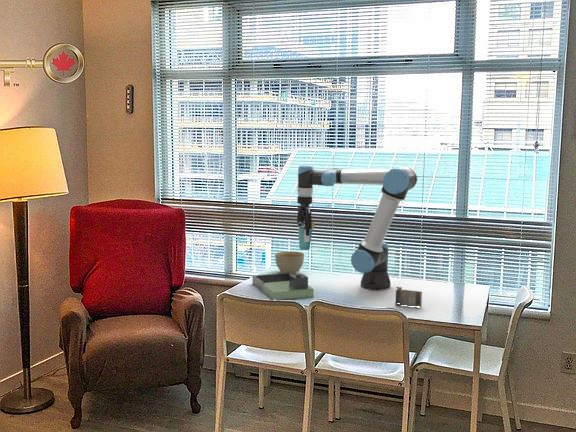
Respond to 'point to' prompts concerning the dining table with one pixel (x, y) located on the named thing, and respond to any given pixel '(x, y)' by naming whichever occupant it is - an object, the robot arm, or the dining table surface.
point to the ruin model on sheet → (408, 297)
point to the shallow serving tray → (284, 285)
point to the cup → (303, 244)
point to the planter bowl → (289, 261)
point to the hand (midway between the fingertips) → (303, 240)
